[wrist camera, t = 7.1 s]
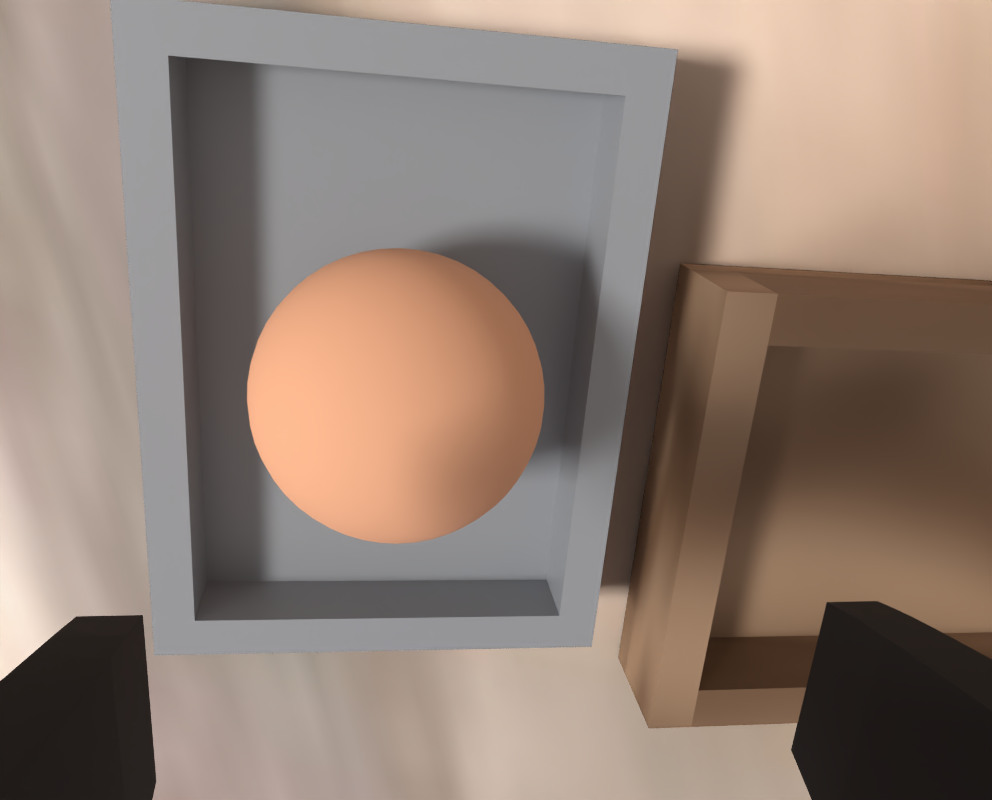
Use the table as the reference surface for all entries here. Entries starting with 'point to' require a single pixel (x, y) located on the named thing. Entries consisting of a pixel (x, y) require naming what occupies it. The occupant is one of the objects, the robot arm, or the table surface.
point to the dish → (807, 481)
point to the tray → (363, 227)
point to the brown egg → (395, 395)
